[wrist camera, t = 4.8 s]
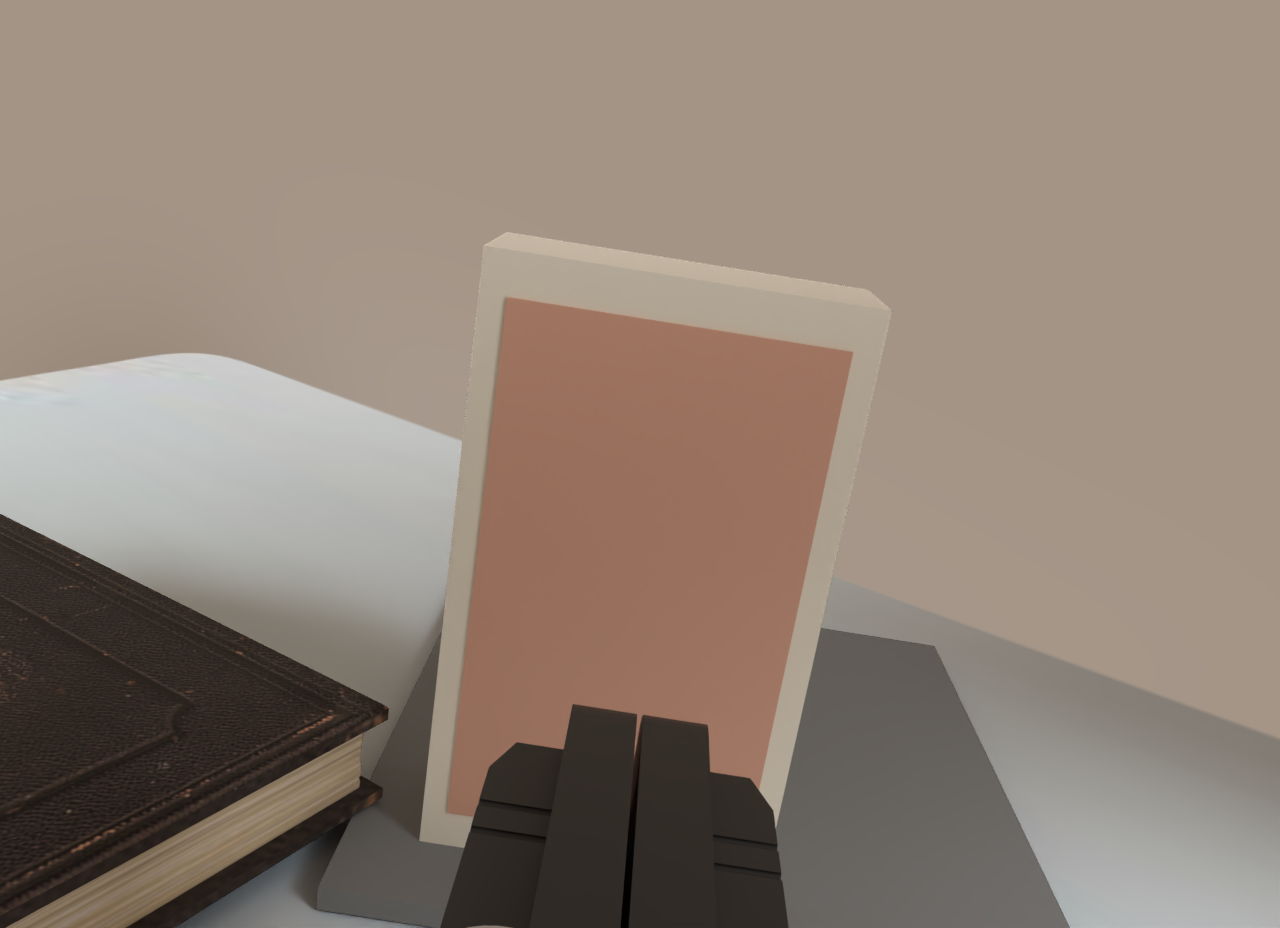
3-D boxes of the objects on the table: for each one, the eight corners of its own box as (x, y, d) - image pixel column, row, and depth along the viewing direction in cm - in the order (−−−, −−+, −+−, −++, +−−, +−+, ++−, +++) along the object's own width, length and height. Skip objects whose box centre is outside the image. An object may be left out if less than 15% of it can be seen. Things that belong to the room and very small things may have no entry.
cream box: (754, 819, 24) (868, 289, 21) (761, 896, 22) (892, 310, 18) (445, 771, 24) (507, 231, 21) (418, 842, 22) (482, 245, 18)
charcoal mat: (930, 660, 35) (934, 645, 35) (1102, 1031, 20) (1109, 1009, 20) (468, 587, 35) (469, 572, 35) (316, 909, 20) (317, 886, 20)
